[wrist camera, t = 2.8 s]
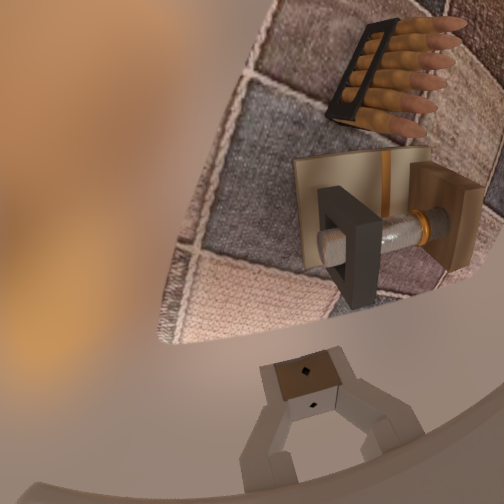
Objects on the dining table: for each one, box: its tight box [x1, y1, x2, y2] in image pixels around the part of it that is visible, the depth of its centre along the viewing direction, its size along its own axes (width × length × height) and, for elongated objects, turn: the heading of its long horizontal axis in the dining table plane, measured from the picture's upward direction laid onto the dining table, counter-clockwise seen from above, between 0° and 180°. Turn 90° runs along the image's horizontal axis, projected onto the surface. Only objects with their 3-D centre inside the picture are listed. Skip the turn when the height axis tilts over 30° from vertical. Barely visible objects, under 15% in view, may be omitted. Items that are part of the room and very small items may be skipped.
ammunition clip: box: [325, 16, 468, 138], centre depth 16 cm, size 11×2×12 cm, turn 157°
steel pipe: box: [317, 207, 451, 268], centre depth 22 cm, size 14×3×3 cm, turn 99°
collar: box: [317, 185, 383, 310], centre depth 22 cm, size 2×7×7 cm, turn 10°
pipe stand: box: [293, 145, 485, 273], centre depth 24 cm, size 15×11×9 cm
